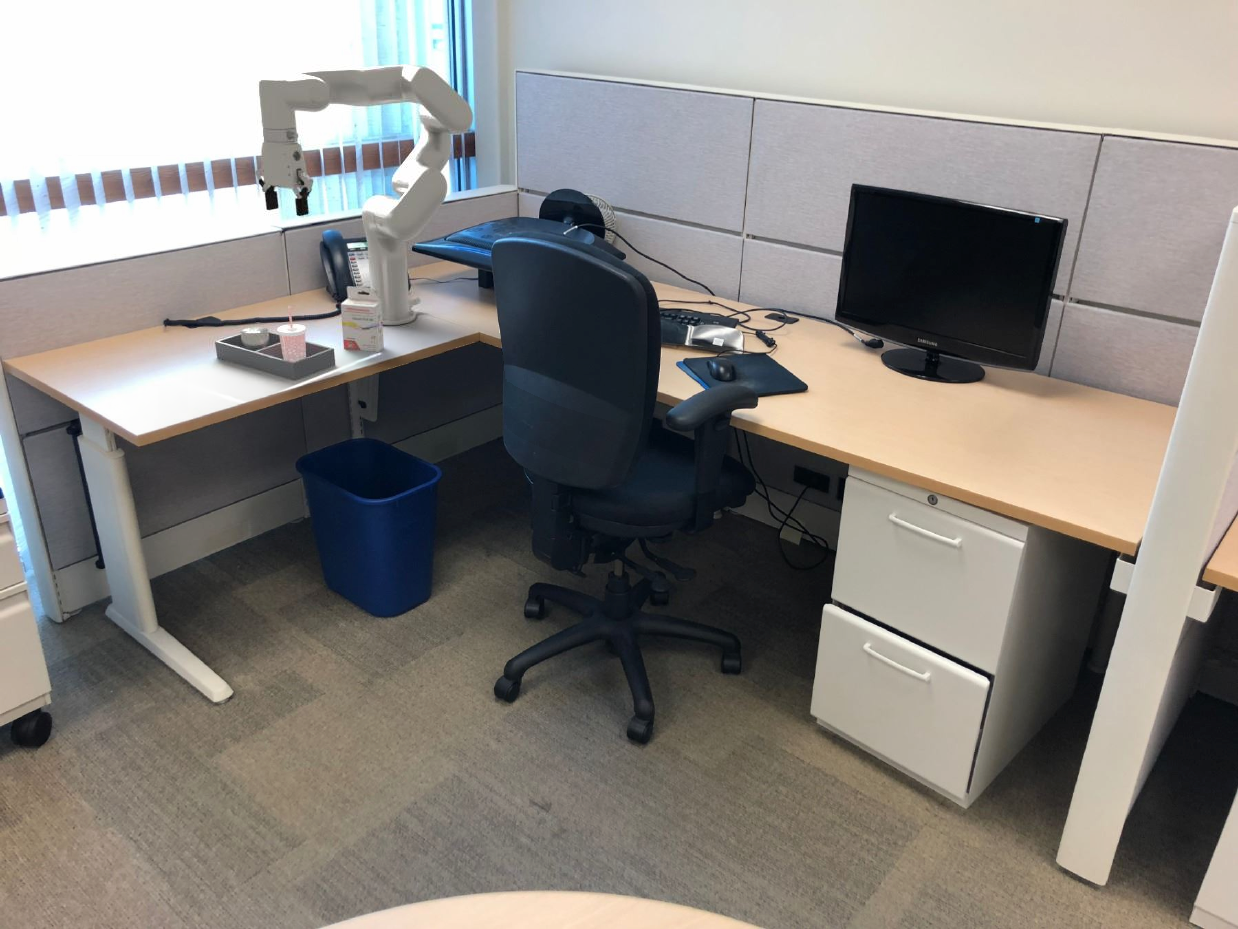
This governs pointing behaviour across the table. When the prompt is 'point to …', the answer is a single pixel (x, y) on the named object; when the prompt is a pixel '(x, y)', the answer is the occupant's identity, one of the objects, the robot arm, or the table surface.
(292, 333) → the beverage cup
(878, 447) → the table surface
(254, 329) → the metal tin
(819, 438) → the table surface
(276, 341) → the organizer tray
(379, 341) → the ink cartridge box
